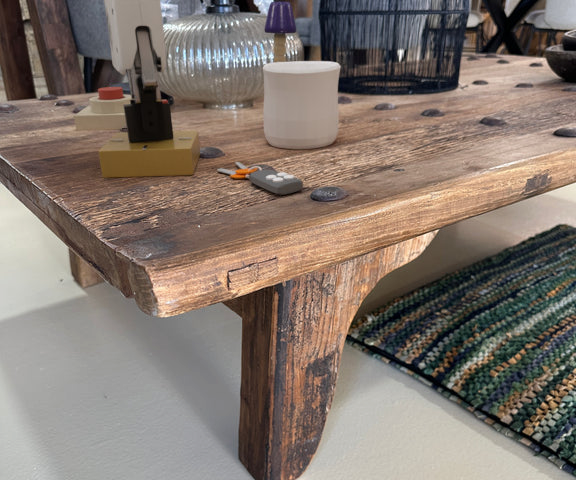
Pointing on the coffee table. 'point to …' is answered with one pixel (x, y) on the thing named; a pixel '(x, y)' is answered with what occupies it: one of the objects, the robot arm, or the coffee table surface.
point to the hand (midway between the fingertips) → (150, 135)
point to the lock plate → (150, 156)
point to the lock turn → (132, 128)
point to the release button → (110, 93)
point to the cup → (301, 104)
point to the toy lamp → (280, 26)
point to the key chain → (267, 179)
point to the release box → (102, 114)
